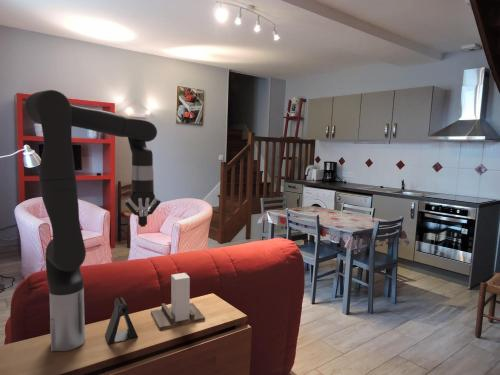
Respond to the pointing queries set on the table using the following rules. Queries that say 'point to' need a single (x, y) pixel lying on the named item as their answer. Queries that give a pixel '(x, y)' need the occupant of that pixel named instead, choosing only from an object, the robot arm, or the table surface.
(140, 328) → the table surface
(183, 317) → the cream block
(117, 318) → the phone stand
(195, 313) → the ridged brown base plate
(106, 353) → the table surface
